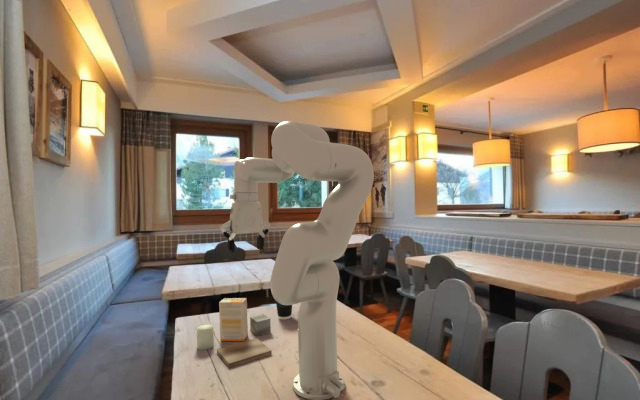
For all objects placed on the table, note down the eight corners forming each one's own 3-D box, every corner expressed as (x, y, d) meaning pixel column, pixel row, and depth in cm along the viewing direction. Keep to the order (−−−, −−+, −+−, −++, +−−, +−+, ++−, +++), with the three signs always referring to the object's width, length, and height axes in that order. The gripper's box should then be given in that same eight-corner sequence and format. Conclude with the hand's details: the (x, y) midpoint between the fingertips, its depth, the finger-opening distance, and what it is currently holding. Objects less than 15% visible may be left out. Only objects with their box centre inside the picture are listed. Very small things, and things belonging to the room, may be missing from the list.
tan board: (271, 354, 98) (271, 350, 98) (229, 367, 90) (229, 363, 90) (256, 341, 107) (256, 338, 107) (216, 353, 100) (216, 349, 100)
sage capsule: (215, 347, 104) (215, 328, 104) (199, 351, 101) (199, 332, 101) (211, 341, 108) (210, 323, 108) (195, 345, 105) (194, 327, 105)
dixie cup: (293, 312, 133) (292, 286, 133) (296, 319, 126) (295, 291, 126) (273, 314, 132) (273, 287, 132) (275, 321, 124) (274, 293, 124)
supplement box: (248, 335, 112) (247, 297, 112) (243, 341, 107) (242, 302, 107) (225, 335, 113) (224, 297, 113) (219, 341, 108) (218, 301, 108)
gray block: (270, 332, 114) (270, 318, 114) (257, 336, 111) (257, 321, 111) (263, 327, 119) (263, 313, 119) (250, 330, 116) (250, 316, 116)
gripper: (223, 198, 98) (223, 255, 99) (275, 198, 108) (275, 249, 109) (216, 198, 104) (216, 251, 105) (265, 197, 114) (265, 246, 115)
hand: (246, 250), depth 107 cm, fingers open, 9 cm apart
